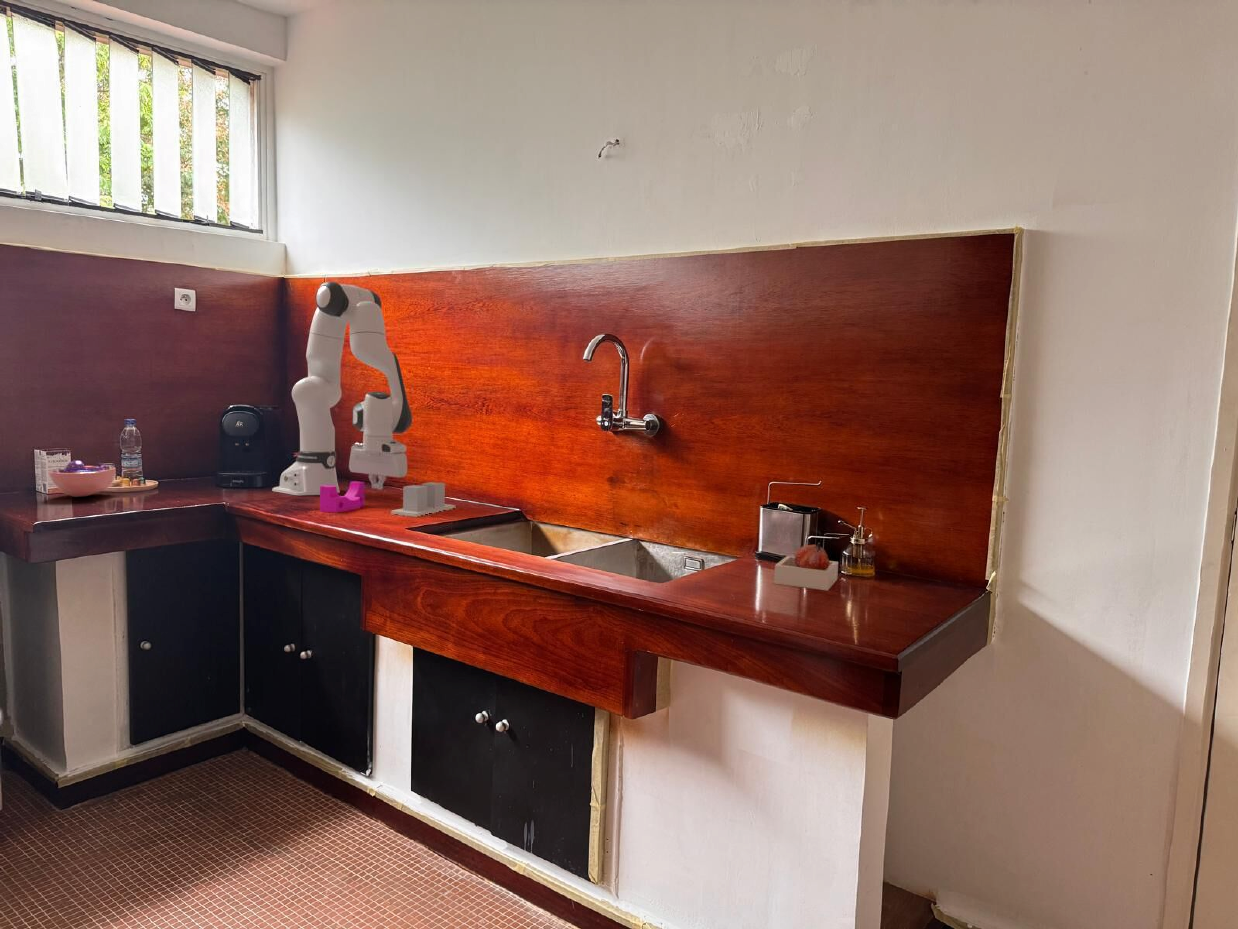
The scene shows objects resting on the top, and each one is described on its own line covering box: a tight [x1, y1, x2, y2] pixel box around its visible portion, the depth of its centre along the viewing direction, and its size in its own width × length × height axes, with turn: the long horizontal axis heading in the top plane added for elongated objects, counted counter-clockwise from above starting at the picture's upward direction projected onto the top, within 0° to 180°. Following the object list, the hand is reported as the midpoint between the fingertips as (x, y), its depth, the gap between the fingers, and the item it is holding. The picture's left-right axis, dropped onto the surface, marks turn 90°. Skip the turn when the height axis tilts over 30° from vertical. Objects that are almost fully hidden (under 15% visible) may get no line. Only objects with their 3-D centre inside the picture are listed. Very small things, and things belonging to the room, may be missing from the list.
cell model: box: [48, 459, 116, 498], centre depth 271 cm, size 17×20×11 cm
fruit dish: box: [773, 555, 839, 591], centre depth 191 cm, size 12×12×4 cm
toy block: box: [319, 480, 365, 513], centre depth 264 cm, size 15×6×8 cm, turn 155°
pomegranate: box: [794, 542, 830, 570], centre depth 189 cm, size 7×7×10 cm
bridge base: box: [390, 481, 457, 518], centre depth 264 cm, size 9×20×8 cm, turn 156°
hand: (377, 489), depth 271 cm, fingers closed
